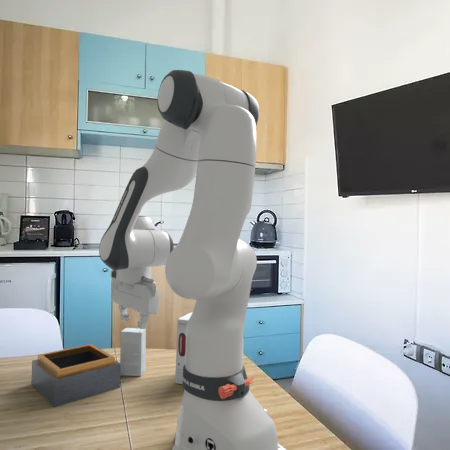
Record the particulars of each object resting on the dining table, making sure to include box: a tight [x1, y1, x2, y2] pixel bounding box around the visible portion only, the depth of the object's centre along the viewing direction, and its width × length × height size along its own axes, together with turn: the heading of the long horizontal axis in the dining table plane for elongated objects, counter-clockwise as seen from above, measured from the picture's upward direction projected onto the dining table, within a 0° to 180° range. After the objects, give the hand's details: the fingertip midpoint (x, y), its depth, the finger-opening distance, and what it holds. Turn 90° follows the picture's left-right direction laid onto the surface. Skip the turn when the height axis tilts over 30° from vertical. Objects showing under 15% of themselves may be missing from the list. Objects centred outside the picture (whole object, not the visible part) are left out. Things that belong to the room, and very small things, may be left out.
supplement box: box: [174, 311, 193, 385], centre depth 101 cm, size 10×9×17 cm
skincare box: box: [119, 327, 147, 377], centre depth 104 cm, size 6×4×12 cm
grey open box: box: [31, 343, 121, 408], centre depth 97 cm, size 19×16×8 cm
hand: (132, 324), depth 105 cm, fingers open, 8 cm apart
